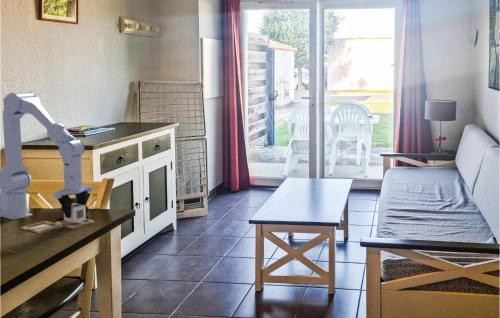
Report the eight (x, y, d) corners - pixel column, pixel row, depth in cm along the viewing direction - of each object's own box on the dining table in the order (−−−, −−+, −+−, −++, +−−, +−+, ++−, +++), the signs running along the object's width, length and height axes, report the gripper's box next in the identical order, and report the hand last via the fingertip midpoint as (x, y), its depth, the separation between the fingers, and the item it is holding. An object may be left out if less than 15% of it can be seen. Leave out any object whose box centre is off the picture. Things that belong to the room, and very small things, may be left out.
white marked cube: (64, 220, 210) (63, 205, 209) (75, 217, 214) (75, 202, 213) (74, 222, 207) (73, 207, 206) (86, 219, 211) (85, 205, 210)
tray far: (55, 225, 210) (55, 222, 209) (76, 219, 217) (76, 216, 217) (73, 229, 204) (72, 226, 204) (94, 223, 212) (94, 220, 212)
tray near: (21, 229, 204) (21, 226, 204) (45, 223, 211) (44, 221, 211) (39, 234, 199) (39, 231, 198) (62, 228, 206) (62, 225, 206)
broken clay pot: (89, 223, 215) (76, 204, 212) (66, 233, 217) (52, 214, 214) (98, 206, 226) (85, 188, 223) (76, 216, 228) (63, 198, 225)
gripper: (63, 180, 200) (64, 222, 202) (97, 173, 212) (99, 213, 214) (48, 178, 204) (50, 218, 206) (83, 171, 216) (85, 210, 218)
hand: (74, 215), depth 210 cm, fingers closed on white marked cube, 5 cm apart
